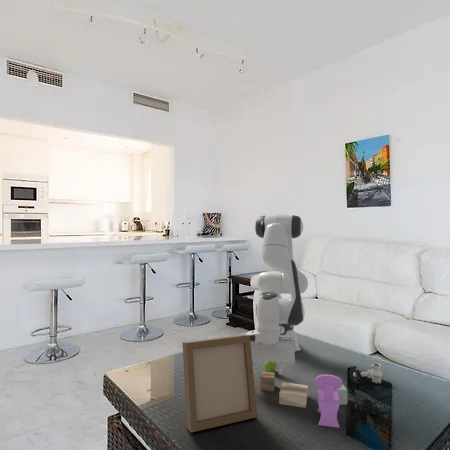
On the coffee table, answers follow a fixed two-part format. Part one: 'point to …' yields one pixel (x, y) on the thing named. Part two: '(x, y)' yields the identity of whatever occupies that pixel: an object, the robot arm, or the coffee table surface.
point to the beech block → (293, 394)
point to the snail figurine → (270, 366)
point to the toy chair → (328, 399)
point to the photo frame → (218, 382)
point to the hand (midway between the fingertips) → (267, 372)
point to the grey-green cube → (342, 395)
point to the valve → (367, 373)
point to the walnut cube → (267, 381)
